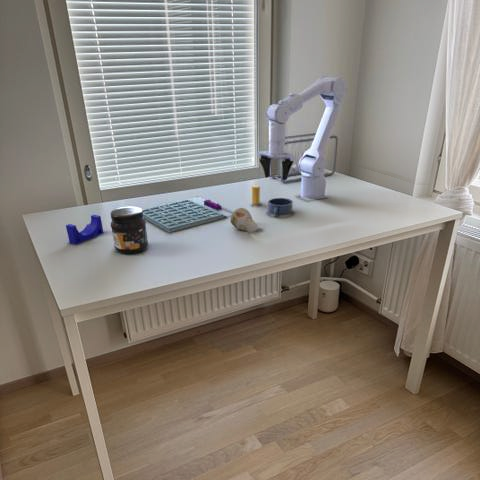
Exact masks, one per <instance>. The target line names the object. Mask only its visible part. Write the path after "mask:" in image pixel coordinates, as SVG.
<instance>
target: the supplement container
mask: <svg viewBox="0 0 480 480" xmlns="http://www.w3.org/2000/svg"><path fill="white" fill-rule="evenodd" d="M142 209H143V208H141V207H137V206H124V207H123V206H121V207H117V208H115V209H113V210H111V211H110V219H111V222H110V228H111V233H112V238H113V246H114V249H115V251H116V252H118V253H120V254H125V255H132V254H138V253H141V252H144V251H145V250H146V249H148V247H149V239H148V232H147V226H146V225H147V222H146V221H147V220H146V219H145V218H143V211H142Z"/></svg>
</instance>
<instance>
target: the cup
mask: <svg viewBox="0 0 480 480" xmlns="http://www.w3.org/2000/svg"><path fill="white" fill-rule="evenodd" d="M293 209H294V201H293V200H292V199H290V198H285V197H276V198H271V199H269V200H267V213H269V214H271V215H274V218H278V216H287V215H290V214H292V213H293V211H294V210H293Z"/></svg>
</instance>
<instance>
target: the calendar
mask: <svg viewBox="0 0 480 480" xmlns="http://www.w3.org/2000/svg"><path fill="white" fill-rule="evenodd" d="M141 209H142V211H143V218H144V219H145V220H146V221H148V222H151V223H152V224H153V225H156V226H157V227H159V228H161V229H163V230H165V231H166V232H168V233H173V232H176V231H180V230H183V229H187V228H191V227H195V226H198V225H203V224H207V223H210V222H215V221H217V220H222V219H225V218H227V216H226V215H225V214H223V213H222V212H220V211H219V210H222V205H221V204H220V203H216V202H214V201H212V200H210V199H205V198H202V197H200V196H196V197H190V198H184V200H180V199H178V200H176V201H173V202H171V201H170V202H168V203H164V204H162V203H161V204H159V205H158V206H157V205H156V206H148V207H147V208H141Z"/></svg>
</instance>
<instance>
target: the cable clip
mask: <svg viewBox="0 0 480 480" xmlns="http://www.w3.org/2000/svg"><path fill="white" fill-rule="evenodd" d="M65 229H66V234H67V238H68V242H69V244H72V245H74V246H75V245H79V244H82V243H84V242H86V241H88V240H90V239H93V238H95V237H98V236H100V235H102V234H104V228H103V222H102V217H101V215H99V214H92V215H90V222H89V223H87V224H86V225H85V227H84V228H83V229H82V230H81V231H79V229H78V228H77V225H75V224H71V223H68V224H65Z"/></svg>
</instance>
